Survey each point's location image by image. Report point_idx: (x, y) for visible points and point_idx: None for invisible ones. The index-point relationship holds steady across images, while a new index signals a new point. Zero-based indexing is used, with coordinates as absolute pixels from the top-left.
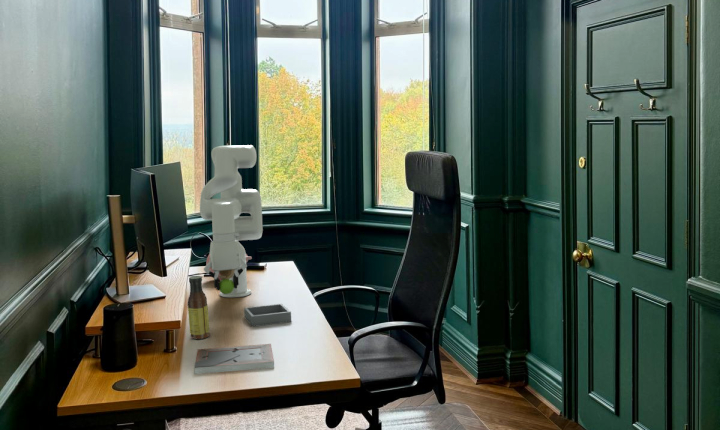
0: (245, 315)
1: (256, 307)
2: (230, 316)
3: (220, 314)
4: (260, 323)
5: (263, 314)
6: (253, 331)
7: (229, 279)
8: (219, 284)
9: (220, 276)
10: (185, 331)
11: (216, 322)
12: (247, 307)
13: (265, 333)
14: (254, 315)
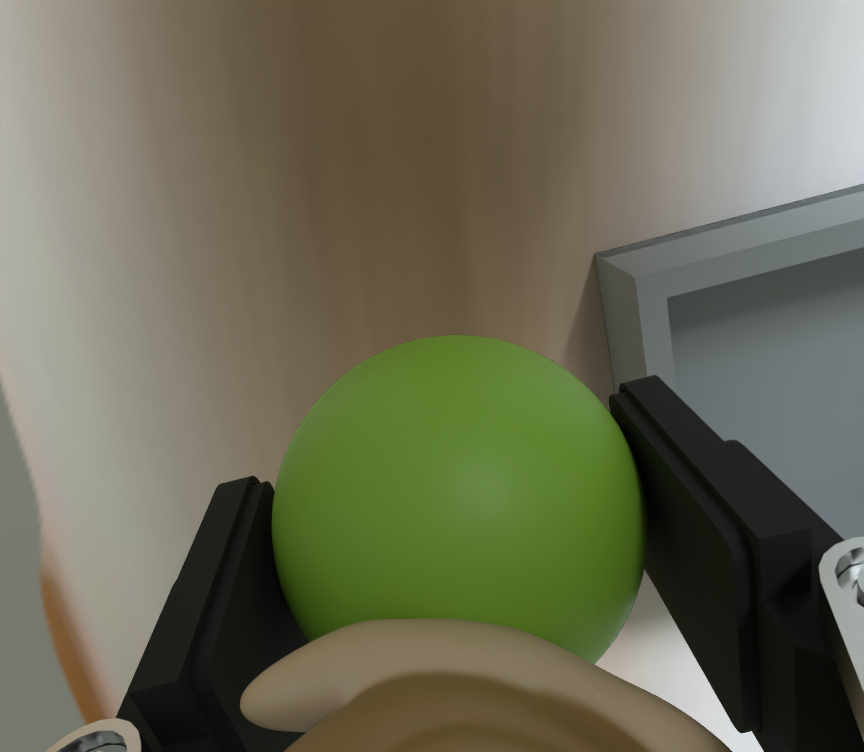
0: (612, 308)
1: (783, 266)
2: (436, 171)
3: (302, 39)
4: None
5: (804, 265)
6: (635, 670)
7: (580, 645)
8: (306, 637)
9: (305, 728)
10: (74, 615)
11: (307, 388)
12: (675, 265)
13: (712, 717)
14: (706, 289)
